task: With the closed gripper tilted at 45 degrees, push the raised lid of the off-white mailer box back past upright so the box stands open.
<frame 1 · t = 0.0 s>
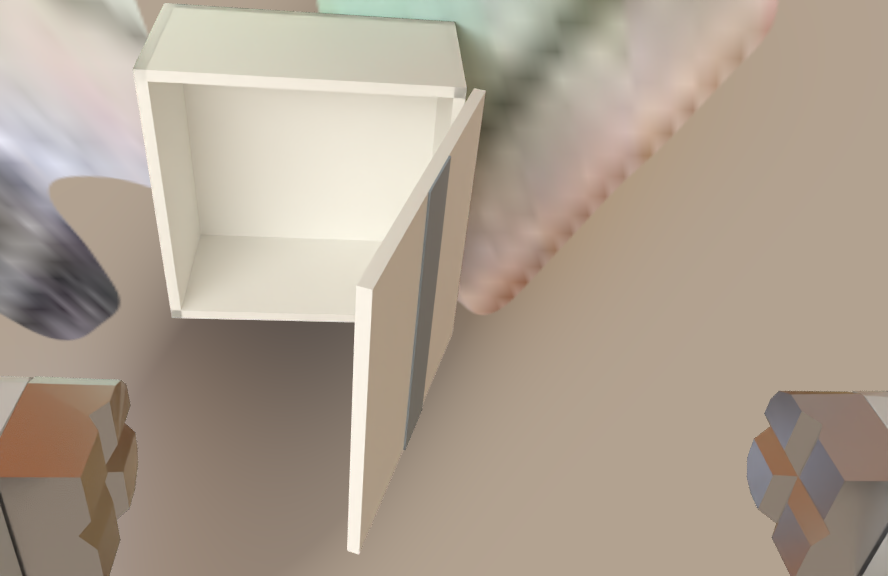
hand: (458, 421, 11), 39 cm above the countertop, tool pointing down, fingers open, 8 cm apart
mailer box: (313, 138, 52), on the countertop
mailer lid: (418, 316, 40), point 16 cm above the countertop, hinge at 70.0°
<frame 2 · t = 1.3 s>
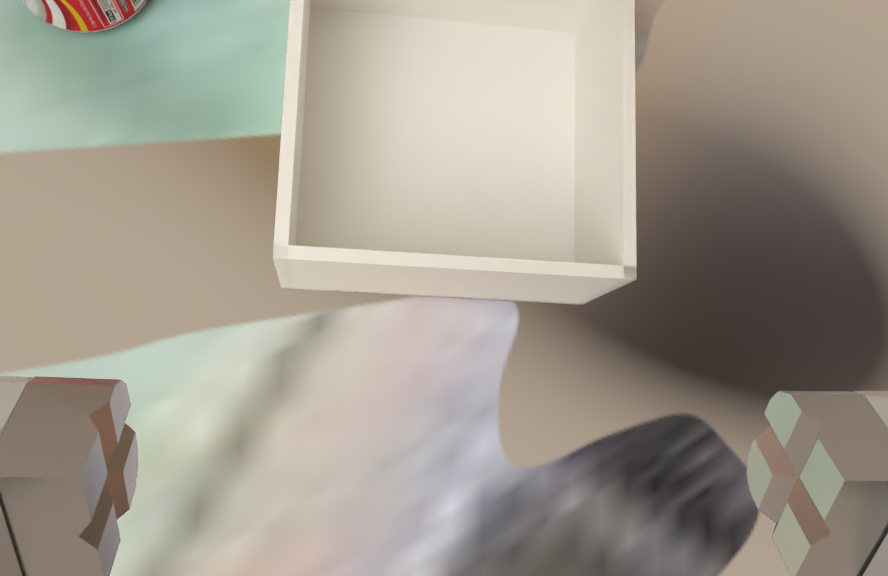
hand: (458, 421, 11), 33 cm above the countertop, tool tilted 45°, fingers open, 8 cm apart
mailer box: (440, 151, 45), on the countertop
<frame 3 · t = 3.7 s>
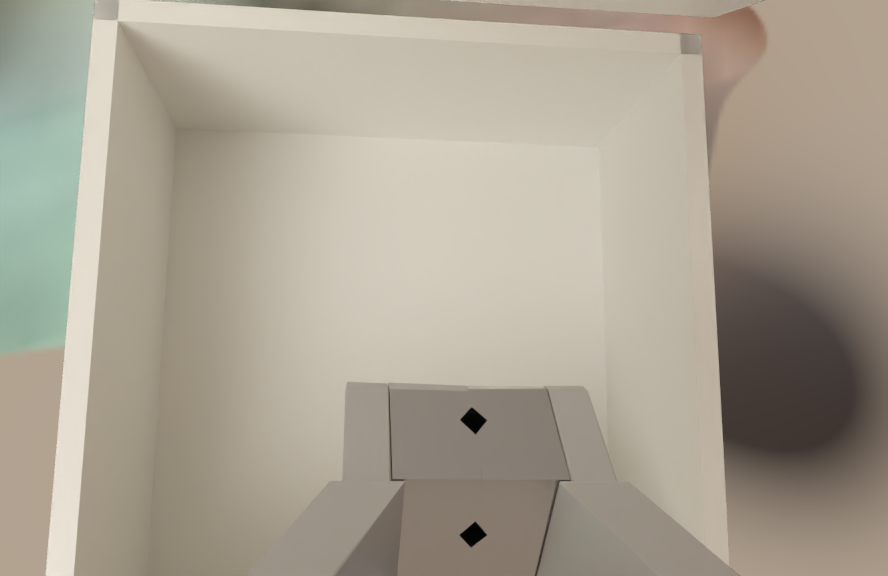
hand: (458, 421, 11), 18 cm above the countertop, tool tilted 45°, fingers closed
mailer box: (389, 350, 28), on the countertop
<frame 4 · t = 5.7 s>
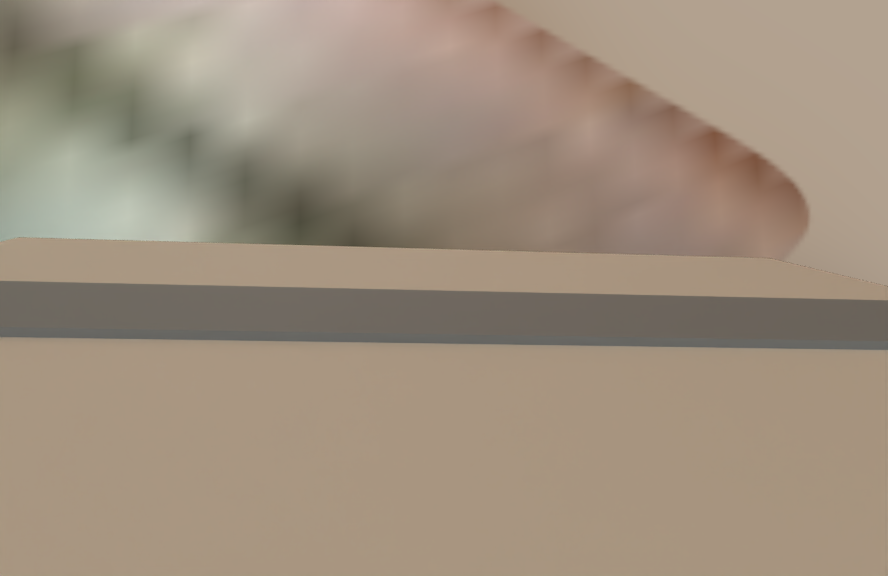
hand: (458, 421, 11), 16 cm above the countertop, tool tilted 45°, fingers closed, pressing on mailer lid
mailer lid: (460, 337, 10), point 16 cm above the countertop, hinge at 71.7°, touching gripper
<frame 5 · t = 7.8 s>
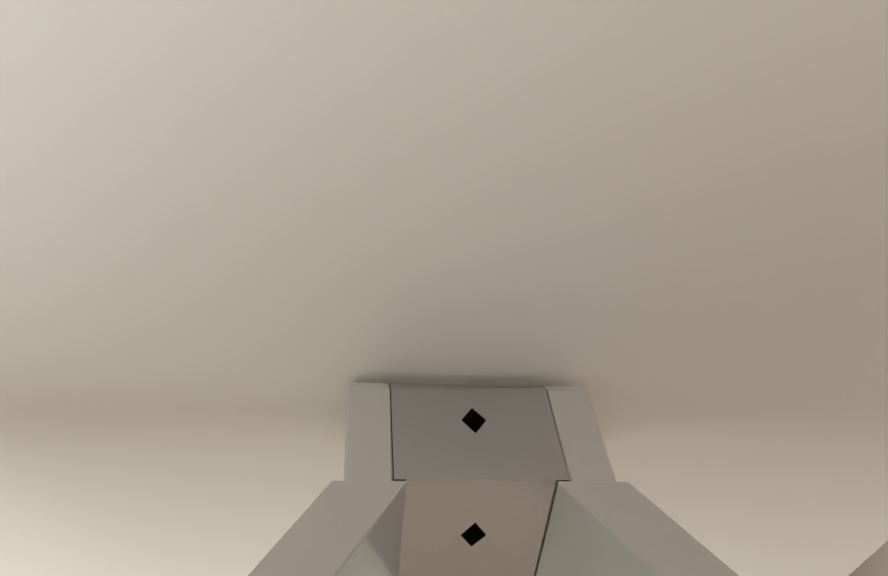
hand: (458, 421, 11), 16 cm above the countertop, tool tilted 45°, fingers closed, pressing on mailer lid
mailer lid: (441, 407, 11), point 15 cm above the countertop, hinge at 122.1°, touching gripper
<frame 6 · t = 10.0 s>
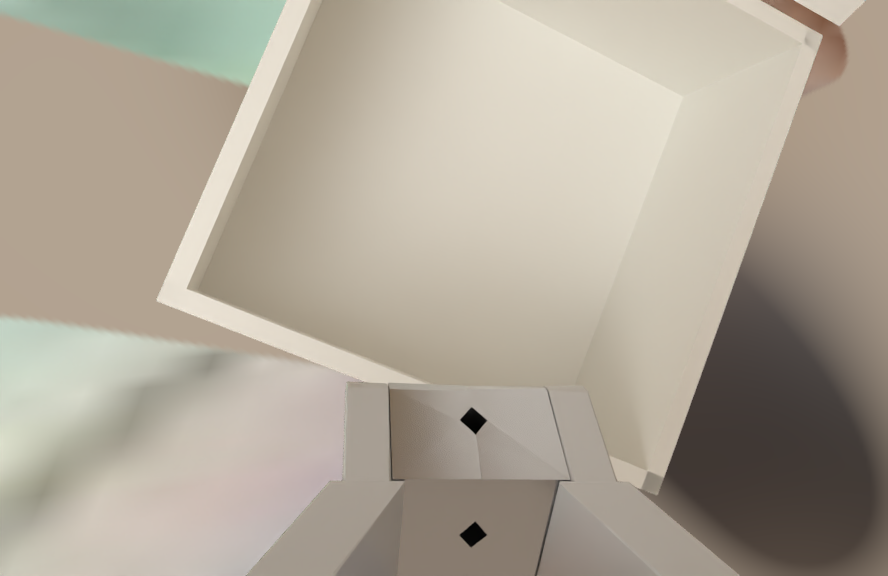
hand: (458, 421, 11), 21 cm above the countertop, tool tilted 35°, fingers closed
mailer box: (455, 188, 33), on the countertop
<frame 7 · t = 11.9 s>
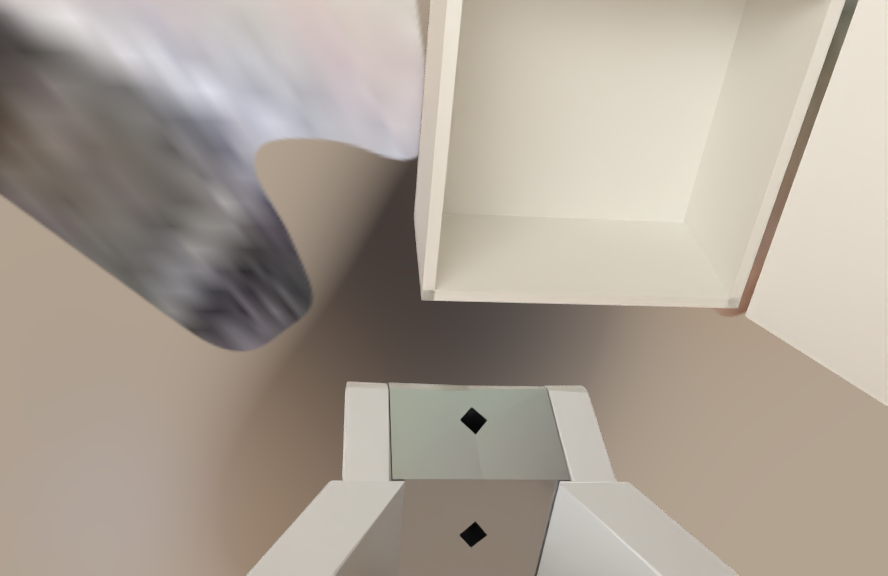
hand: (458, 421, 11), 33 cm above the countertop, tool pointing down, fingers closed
mailer box: (577, 88, 43), on the countertop
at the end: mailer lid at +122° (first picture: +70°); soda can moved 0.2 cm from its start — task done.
